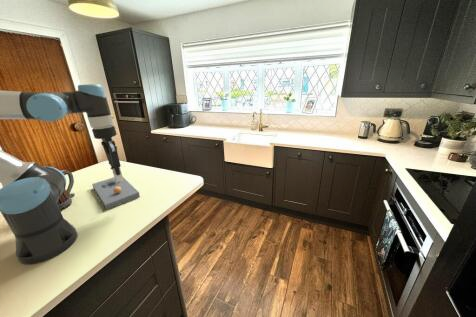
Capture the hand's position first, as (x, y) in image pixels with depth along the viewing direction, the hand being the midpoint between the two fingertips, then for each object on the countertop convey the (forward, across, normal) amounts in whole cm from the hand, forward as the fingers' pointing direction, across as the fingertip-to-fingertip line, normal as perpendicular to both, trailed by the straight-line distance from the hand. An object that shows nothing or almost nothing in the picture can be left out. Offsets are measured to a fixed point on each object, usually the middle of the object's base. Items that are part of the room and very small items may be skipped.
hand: (119, 180), depth 85 cm
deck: (+12, +16, 0) cm, 20 cm away
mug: (+12, +23, +20) cm, 33 cm away
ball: (+8, +9, 0) cm, 12 cm away
